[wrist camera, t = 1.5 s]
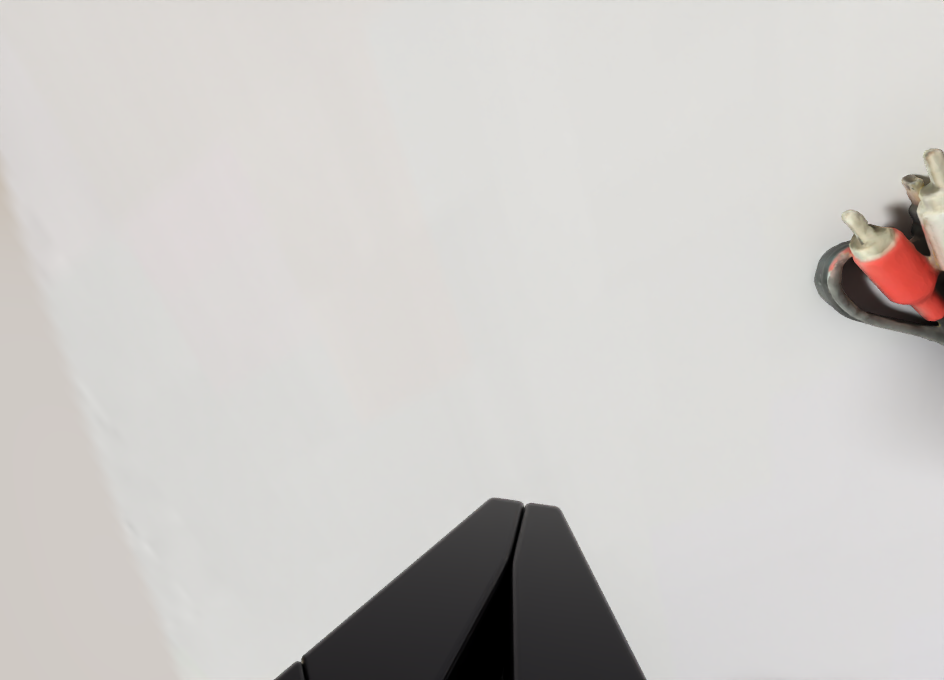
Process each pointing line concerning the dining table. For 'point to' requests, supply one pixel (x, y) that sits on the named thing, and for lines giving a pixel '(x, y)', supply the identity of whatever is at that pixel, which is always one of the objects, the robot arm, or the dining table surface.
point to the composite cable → (896, 258)
